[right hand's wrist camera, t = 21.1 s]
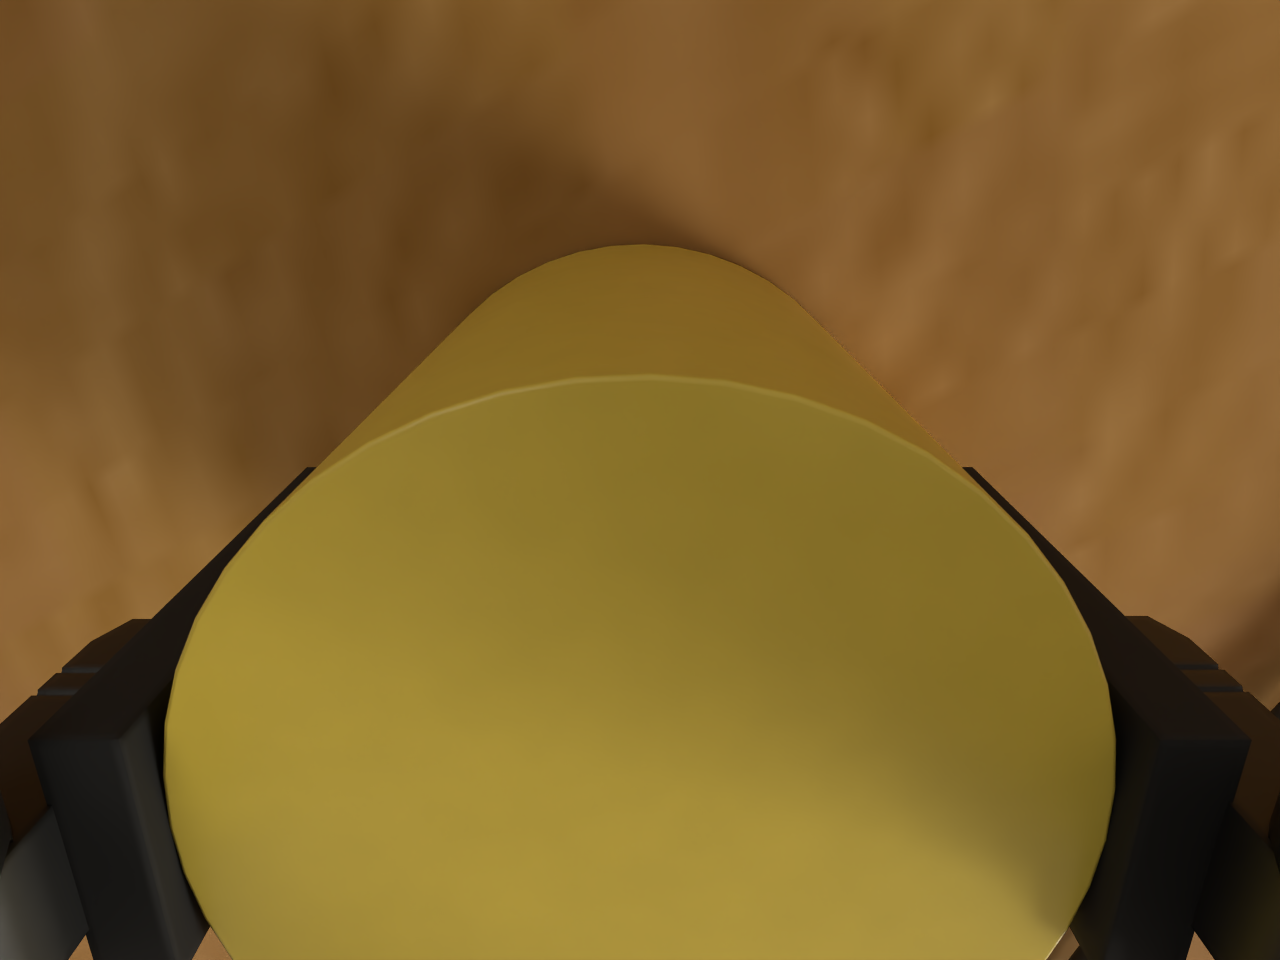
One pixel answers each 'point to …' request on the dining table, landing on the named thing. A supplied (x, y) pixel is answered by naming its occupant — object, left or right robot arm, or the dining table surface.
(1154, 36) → the dining table surface
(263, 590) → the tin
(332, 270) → the dining table surface
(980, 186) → the dining table surface
